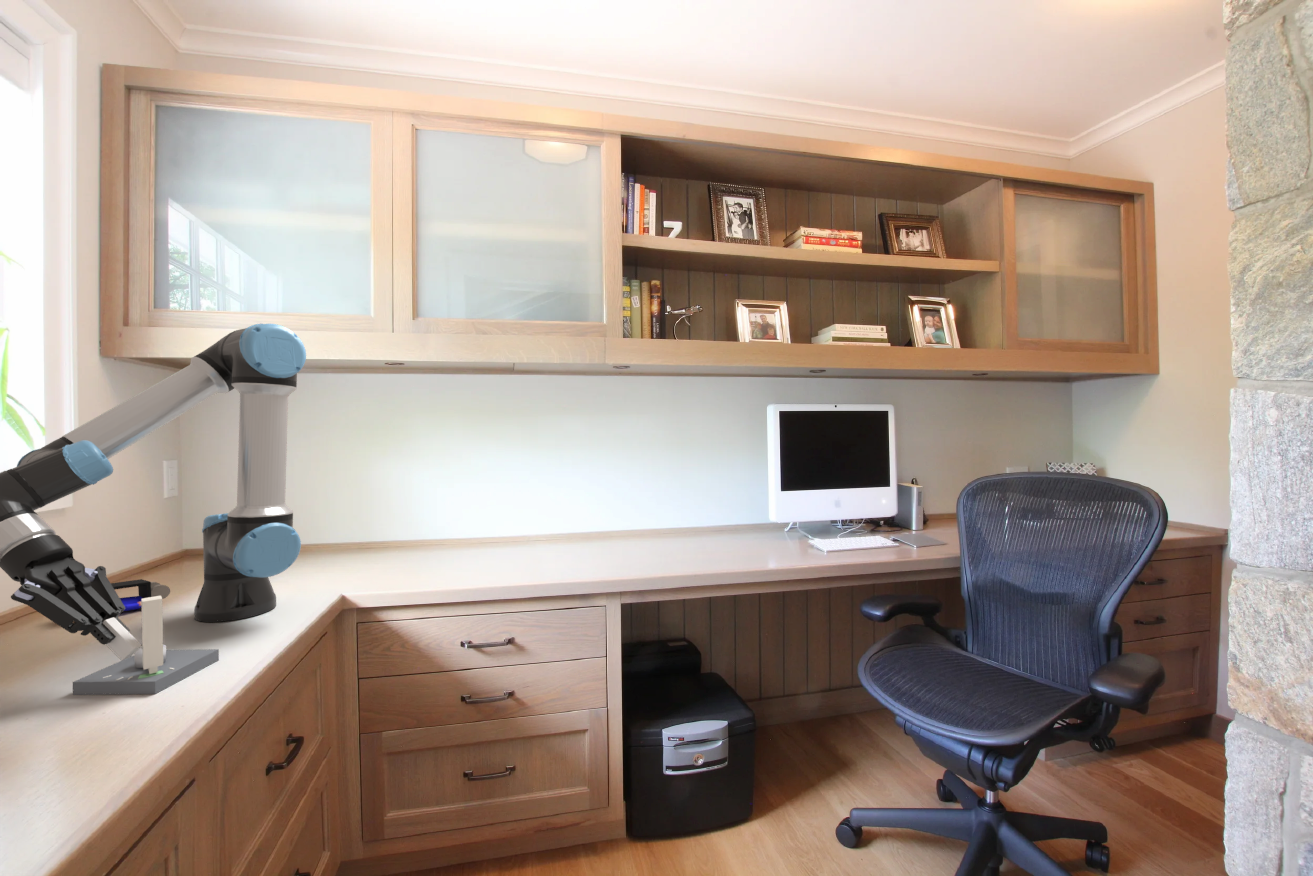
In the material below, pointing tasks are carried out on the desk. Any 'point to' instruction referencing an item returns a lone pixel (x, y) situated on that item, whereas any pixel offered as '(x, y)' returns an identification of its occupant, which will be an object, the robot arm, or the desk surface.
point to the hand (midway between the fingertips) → (132, 652)
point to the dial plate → (145, 674)
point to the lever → (151, 636)
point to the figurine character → (141, 592)
